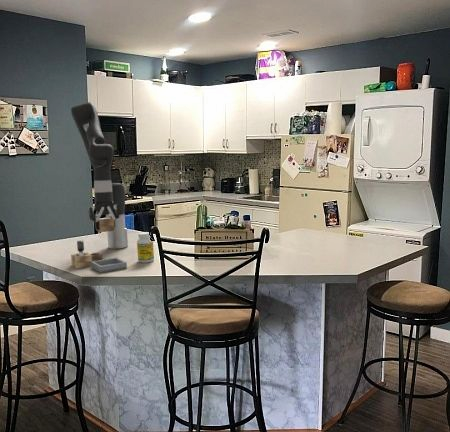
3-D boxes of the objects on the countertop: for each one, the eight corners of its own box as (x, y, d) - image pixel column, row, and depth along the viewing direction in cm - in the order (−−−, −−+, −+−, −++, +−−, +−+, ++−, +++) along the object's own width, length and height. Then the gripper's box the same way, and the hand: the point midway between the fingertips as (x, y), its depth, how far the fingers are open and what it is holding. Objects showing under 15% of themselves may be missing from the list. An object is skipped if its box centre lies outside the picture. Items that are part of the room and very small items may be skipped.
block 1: (87, 262, 228) (86, 252, 227) (92, 265, 222) (91, 254, 221) (71, 265, 224) (70, 254, 223) (76, 268, 218) (75, 257, 217)
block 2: (109, 229, 222) (109, 217, 222) (114, 230, 217) (113, 219, 217) (96, 230, 219) (95, 219, 218) (101, 232, 214) (100, 220, 213)
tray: (116, 263, 225) (116, 257, 225) (126, 268, 216) (126, 262, 215) (91, 267, 219) (91, 261, 219) (100, 272, 210) (100, 266, 209)
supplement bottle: (153, 258, 232) (151, 231, 230) (154, 261, 225) (153, 233, 223) (137, 259, 231) (136, 232, 229) (138, 263, 224) (136, 235, 222)
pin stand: (99, 258, 235) (98, 252, 234) (102, 260, 231) (102, 254, 230) (88, 260, 232) (88, 254, 232) (92, 262, 228) (91, 256, 228)
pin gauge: (84, 264, 225) (82, 240, 224) (86, 265, 223) (84, 241, 221) (78, 265, 224) (76, 241, 222) (79, 266, 221) (78, 242, 220)
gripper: (116, 189, 223) (118, 226, 225) (84, 191, 215) (86, 230, 217) (122, 190, 217) (124, 228, 219) (89, 192, 209) (91, 232, 211)
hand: (105, 229), depth 218 cm, fingers closed on block 2, 6 cm apart
